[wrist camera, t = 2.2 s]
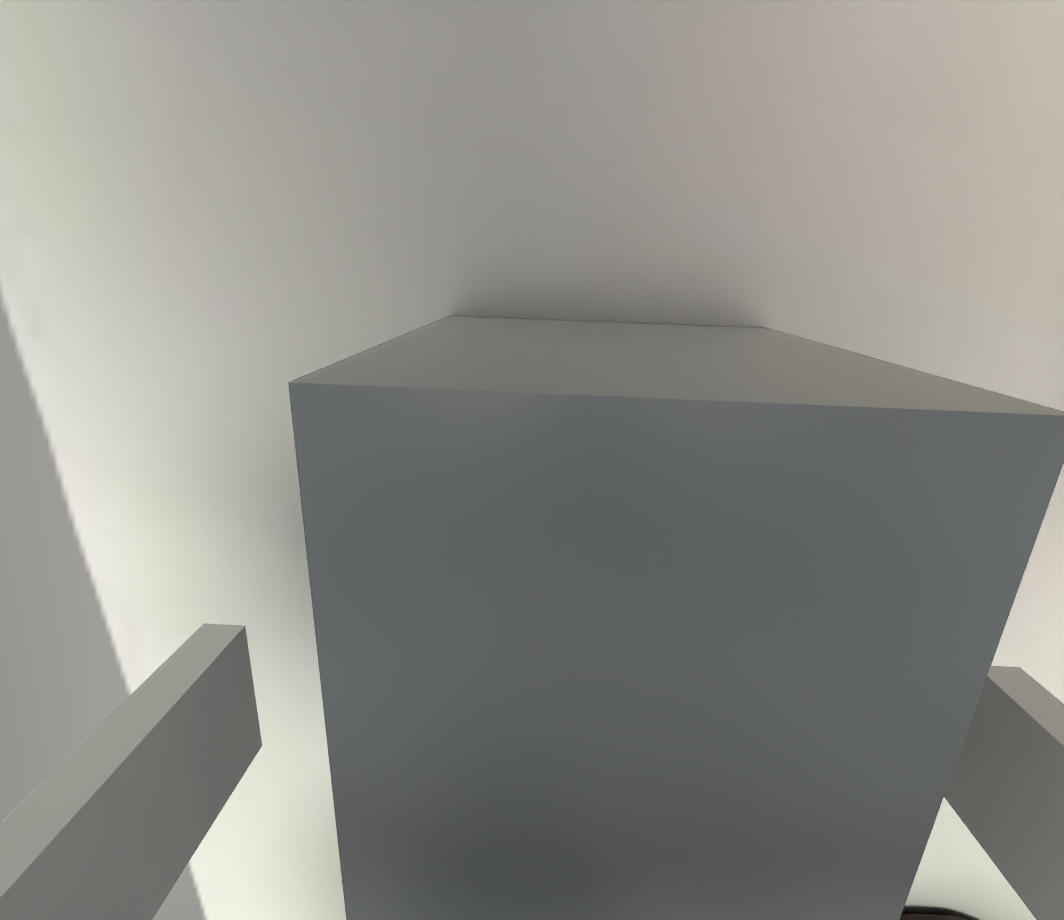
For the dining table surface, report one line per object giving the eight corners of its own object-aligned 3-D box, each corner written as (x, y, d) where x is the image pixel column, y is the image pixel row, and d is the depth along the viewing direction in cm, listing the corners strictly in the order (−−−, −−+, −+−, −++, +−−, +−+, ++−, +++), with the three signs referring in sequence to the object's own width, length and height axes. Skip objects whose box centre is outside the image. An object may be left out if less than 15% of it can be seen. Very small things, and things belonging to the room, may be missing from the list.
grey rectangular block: (449, 315, 14) (288, 383, 6) (765, 327, 14) (1080, 415, 6) (454, 695, 18) (362, 1068, 10) (703, 710, 18) (832, 1108, 9)
